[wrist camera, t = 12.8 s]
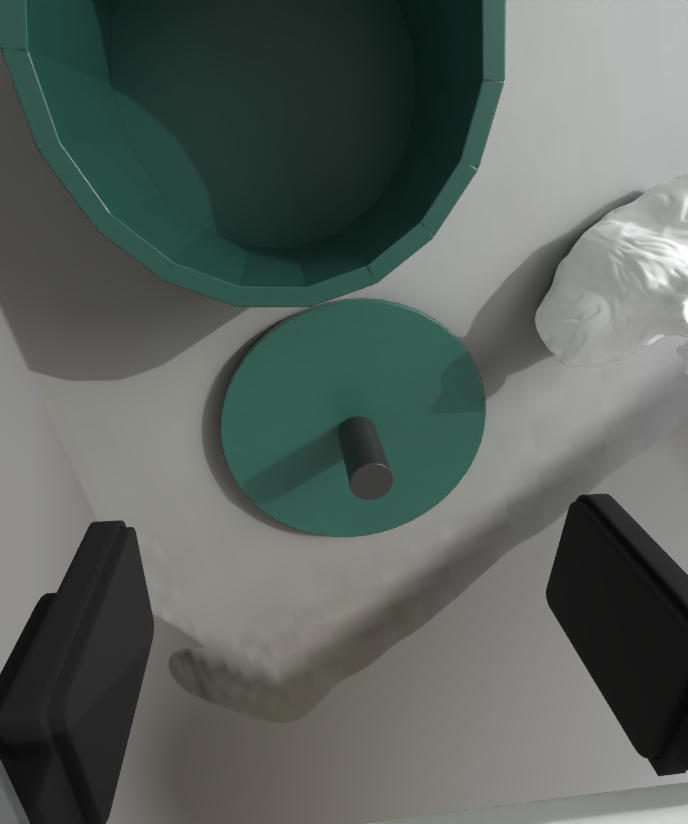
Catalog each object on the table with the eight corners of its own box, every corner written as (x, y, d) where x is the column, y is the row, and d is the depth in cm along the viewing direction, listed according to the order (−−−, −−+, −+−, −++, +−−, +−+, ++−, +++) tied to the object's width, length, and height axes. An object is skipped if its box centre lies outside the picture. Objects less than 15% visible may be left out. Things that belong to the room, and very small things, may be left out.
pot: (60, -150, 20) (-90, -364, 12) (449, -106, 22) (557, -262, 14) (122, 258, 27) (55, 306, 19) (413, 263, 29) (470, 308, 21)
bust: (521, 335, 34) (664, 456, 29) (488, 297, 28) (664, 443, 23) (666, 185, 31) (857, 291, 26) (666, 103, 25) (921, 222, 20)
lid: (212, 294, 29) (196, 331, 23) (499, 296, 31) (554, 331, 25) (230, 532, 36) (221, 607, 30) (460, 520, 38) (494, 588, 32)
